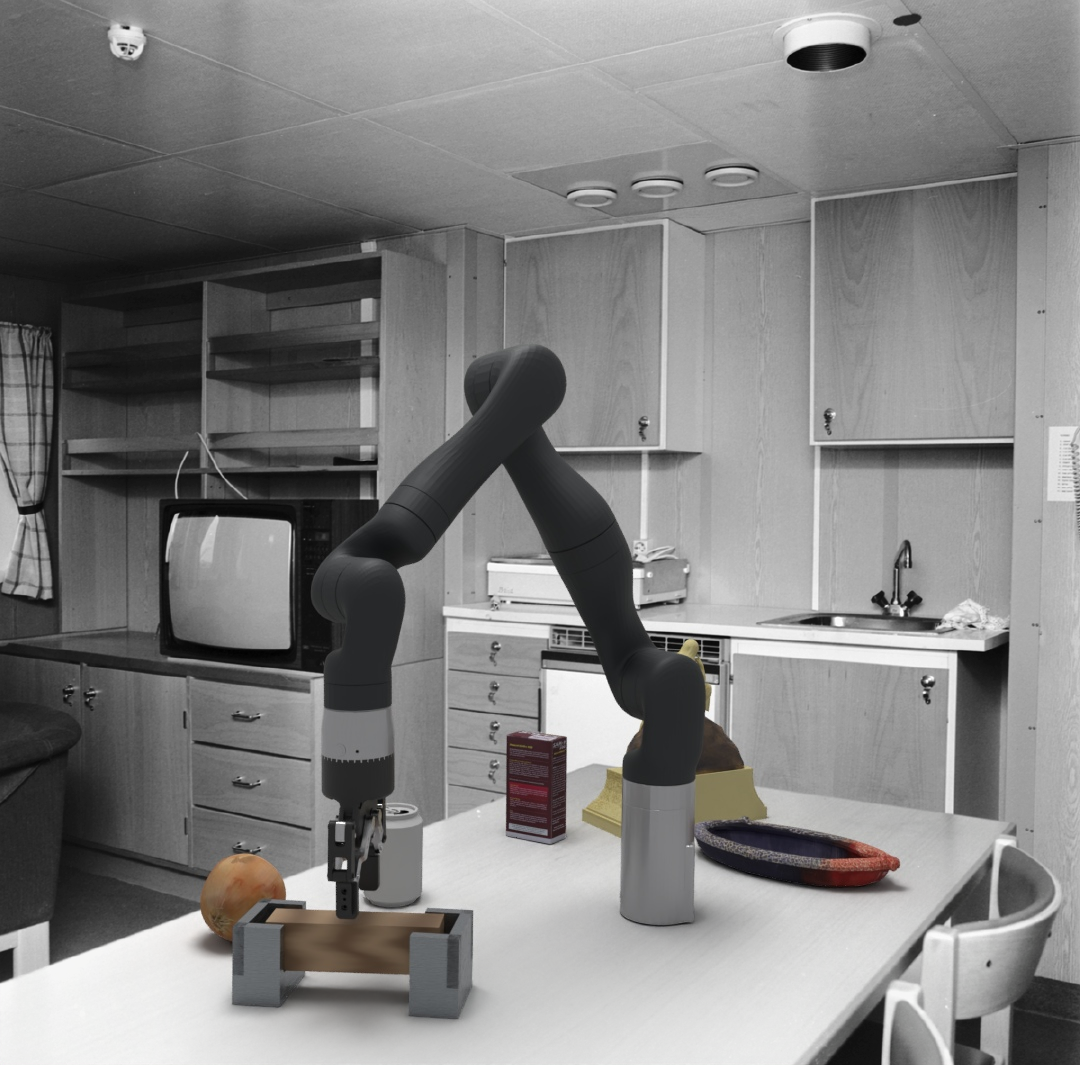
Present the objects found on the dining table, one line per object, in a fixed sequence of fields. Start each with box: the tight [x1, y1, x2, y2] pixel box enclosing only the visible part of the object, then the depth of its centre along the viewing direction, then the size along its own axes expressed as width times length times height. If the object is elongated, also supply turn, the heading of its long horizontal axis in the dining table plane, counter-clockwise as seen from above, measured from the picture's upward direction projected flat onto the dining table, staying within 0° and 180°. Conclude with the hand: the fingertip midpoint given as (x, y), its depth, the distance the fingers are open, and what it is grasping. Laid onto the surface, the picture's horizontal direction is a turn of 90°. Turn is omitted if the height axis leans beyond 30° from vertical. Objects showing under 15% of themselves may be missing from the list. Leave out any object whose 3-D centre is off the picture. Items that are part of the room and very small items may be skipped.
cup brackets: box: [231, 899, 474, 1020], centre depth 121 cm, size 23×8×8 cm, turn 84°
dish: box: [694, 816, 901, 888], centre depth 165 cm, size 16×31×5 cm, turn 52°
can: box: [363, 802, 424, 908], centre depth 150 cm, size 8×8×12 cm
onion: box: [199, 853, 287, 942], centre depth 136 cm, size 10×10×10 cm
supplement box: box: [505, 730, 568, 845], centre depth 179 cm, size 9×5×16 cm, turn 58°
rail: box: [265, 908, 444, 976], centre depth 121 cm, size 18×4×5 cm, turn 87°
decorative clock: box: [581, 638, 768, 839], centre depth 190 cm, size 28×13×30 cm, turn 120°
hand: (358, 903), depth 121 cm, fingers open, 8 cm apart
